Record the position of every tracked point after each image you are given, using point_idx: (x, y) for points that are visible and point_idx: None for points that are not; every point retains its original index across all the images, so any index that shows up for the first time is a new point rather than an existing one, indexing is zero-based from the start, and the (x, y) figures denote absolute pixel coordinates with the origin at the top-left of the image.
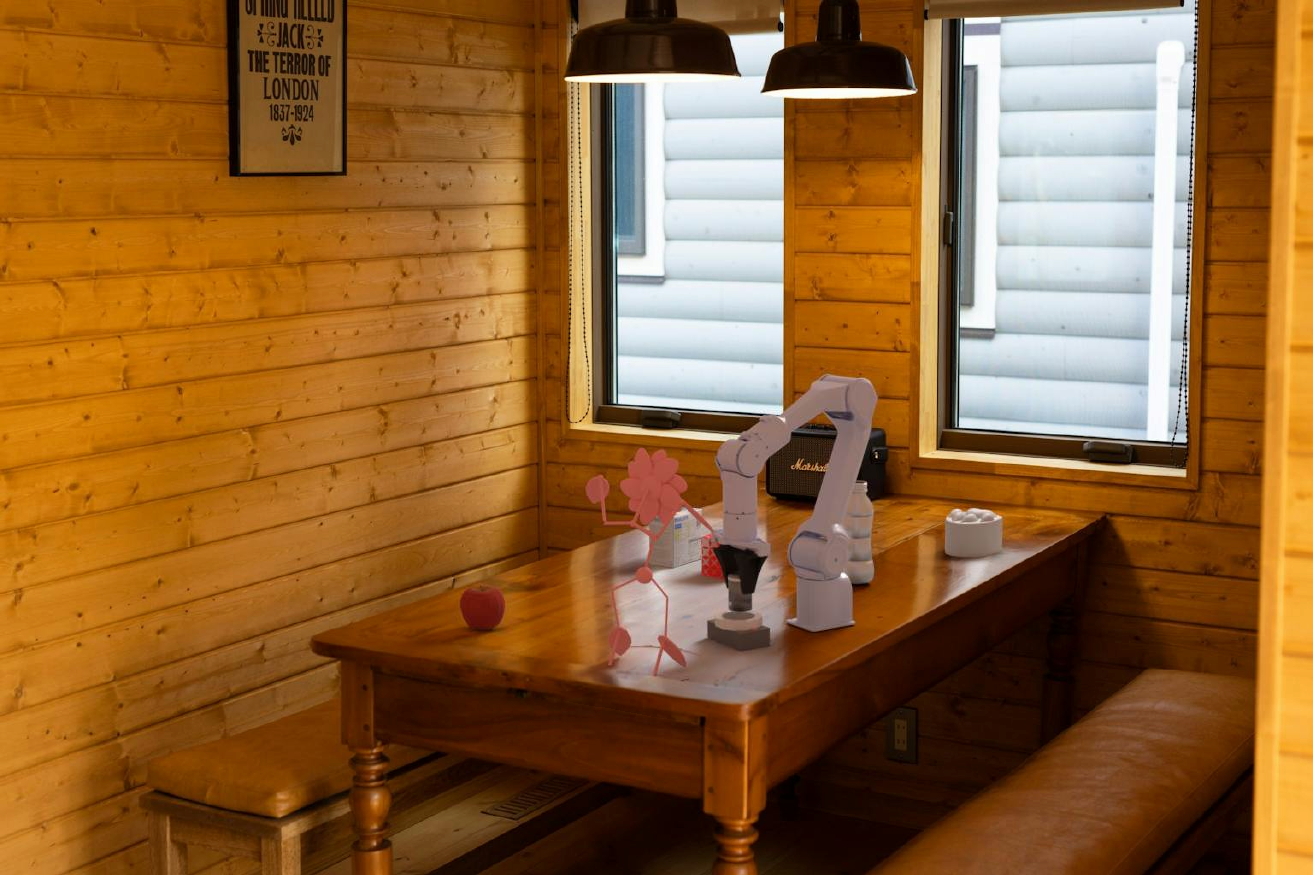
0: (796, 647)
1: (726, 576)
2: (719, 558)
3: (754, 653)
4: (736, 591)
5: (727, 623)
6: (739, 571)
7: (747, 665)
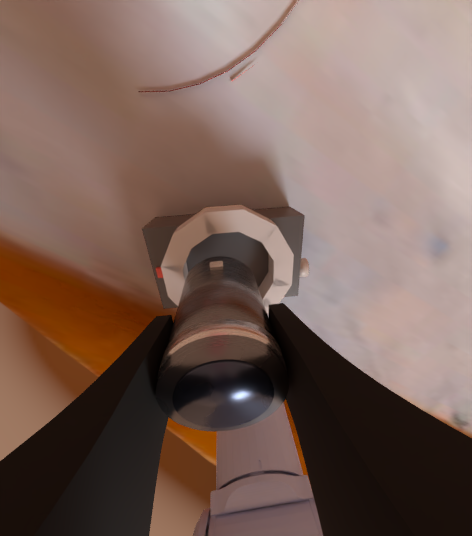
0: (142, 318)
1: (287, 336)
2: (402, 432)
3: (128, 235)
4: (186, 304)
5: (190, 220)
6: (112, 406)
7: (28, 169)
